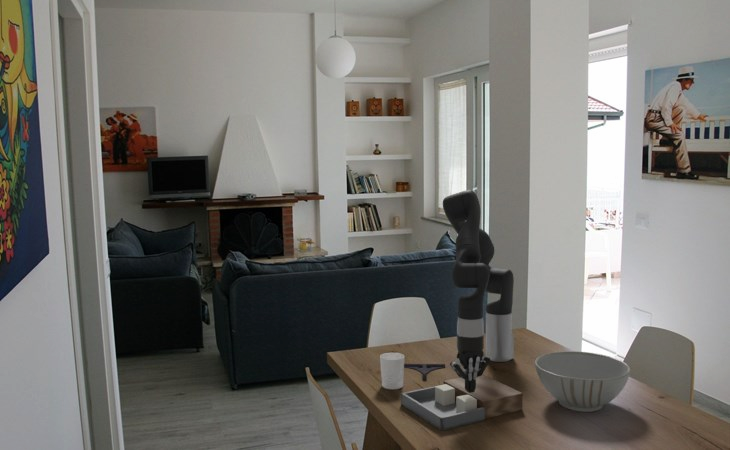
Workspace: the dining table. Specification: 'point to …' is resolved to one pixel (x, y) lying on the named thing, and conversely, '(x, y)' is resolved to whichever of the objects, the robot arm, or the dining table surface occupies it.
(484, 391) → the walnut board
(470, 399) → the off-white cube
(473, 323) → the robot arm
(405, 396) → the tray
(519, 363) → the dining table surface
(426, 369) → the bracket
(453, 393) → the cream cube
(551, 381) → the decorative bowl
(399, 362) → the white cup
